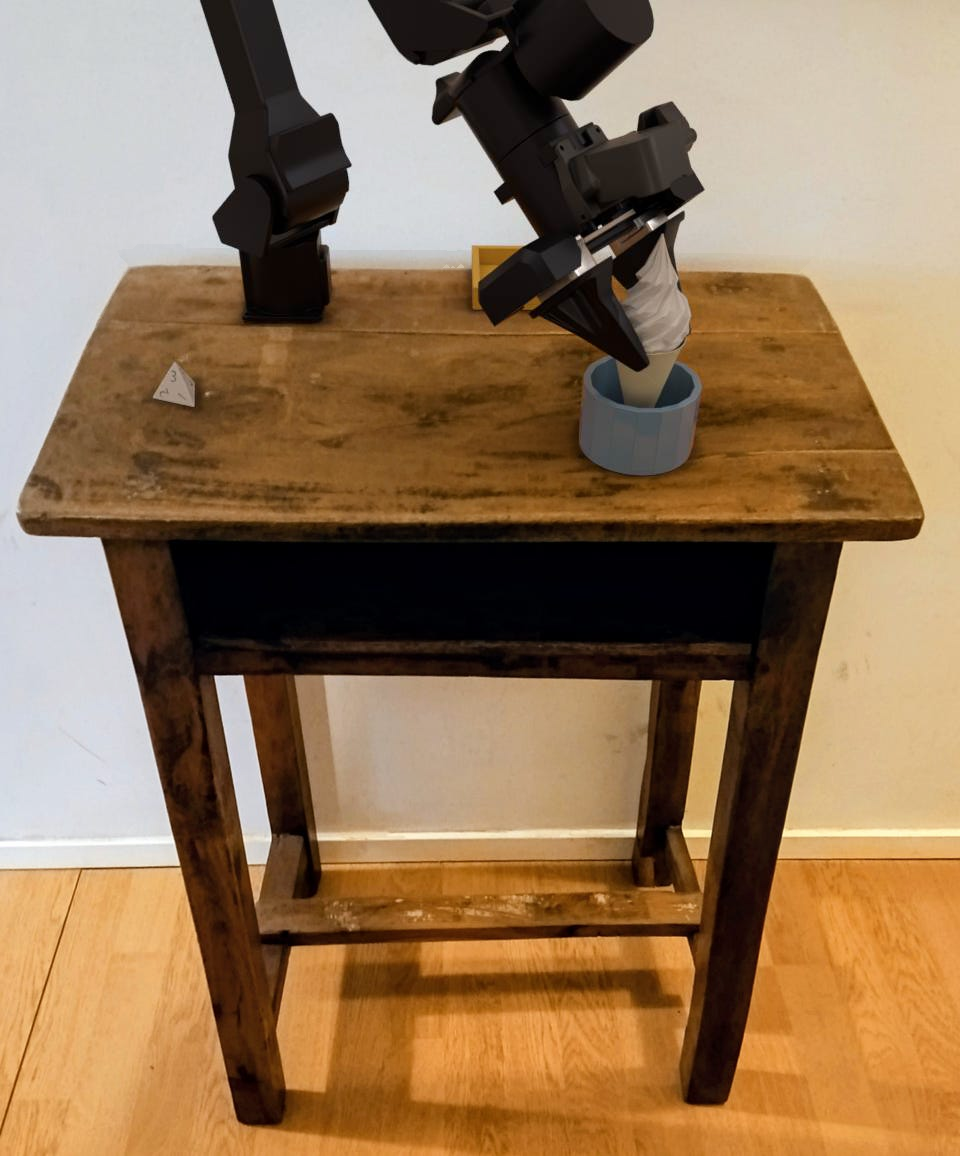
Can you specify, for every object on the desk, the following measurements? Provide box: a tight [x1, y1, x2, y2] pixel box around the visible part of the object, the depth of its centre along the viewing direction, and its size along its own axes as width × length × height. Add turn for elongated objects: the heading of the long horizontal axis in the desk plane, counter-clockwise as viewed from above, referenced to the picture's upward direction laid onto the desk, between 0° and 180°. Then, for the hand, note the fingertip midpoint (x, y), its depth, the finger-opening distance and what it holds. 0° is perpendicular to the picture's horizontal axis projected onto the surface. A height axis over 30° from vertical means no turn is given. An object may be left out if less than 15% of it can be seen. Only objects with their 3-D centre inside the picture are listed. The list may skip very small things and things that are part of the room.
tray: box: [471, 244, 541, 311], centre depth 98 cm, size 9×8×2 cm
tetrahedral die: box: [152, 361, 196, 408], centre depth 84 cm, size 4×3×3 cm
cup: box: [578, 355, 703, 476], centre depth 79 cm, size 8×8×5 cm
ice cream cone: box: [616, 234, 692, 408], centre depth 75 cm, size 5×5×15 cm
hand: (664, 352), depth 75 cm, fingers closed on ice cream cone, 5 cm apart
